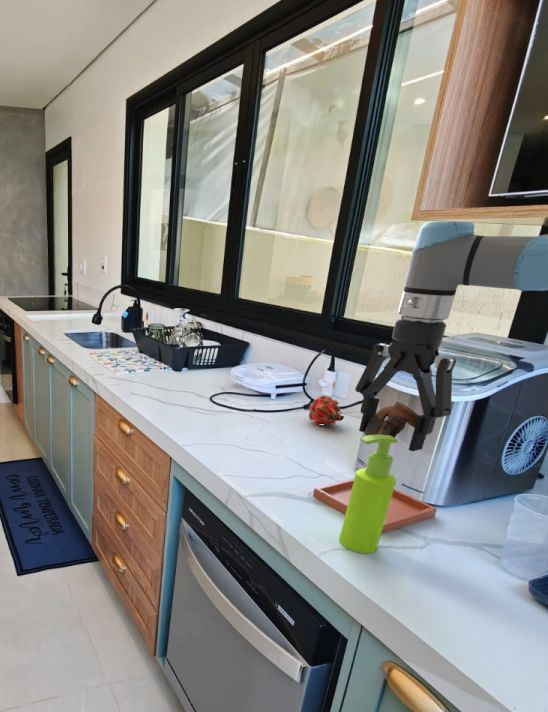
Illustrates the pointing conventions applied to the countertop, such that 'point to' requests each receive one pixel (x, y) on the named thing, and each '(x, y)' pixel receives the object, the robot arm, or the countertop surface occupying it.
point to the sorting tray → (399, 511)
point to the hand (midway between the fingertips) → (389, 439)
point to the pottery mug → (391, 420)
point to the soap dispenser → (369, 498)
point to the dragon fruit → (325, 411)
